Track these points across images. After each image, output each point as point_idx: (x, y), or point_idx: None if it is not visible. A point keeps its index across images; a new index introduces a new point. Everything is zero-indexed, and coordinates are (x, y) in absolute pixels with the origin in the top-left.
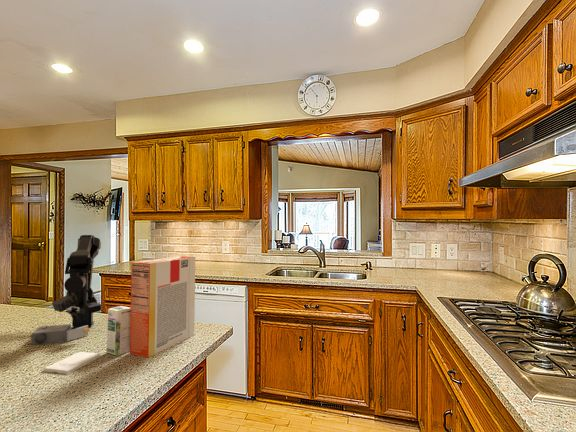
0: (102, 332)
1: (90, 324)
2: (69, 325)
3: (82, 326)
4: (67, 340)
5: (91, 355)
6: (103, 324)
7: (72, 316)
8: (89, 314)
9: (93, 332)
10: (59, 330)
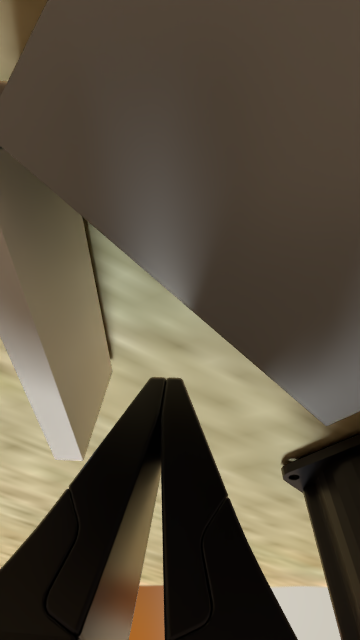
0: None
1: (307, 495)
2: (285, 384)
3: (67, 423)
4: None
5: None
6: (256, 513)
7: (230, 622)
8: (349, 612)
9: None
10: (117, 52)
